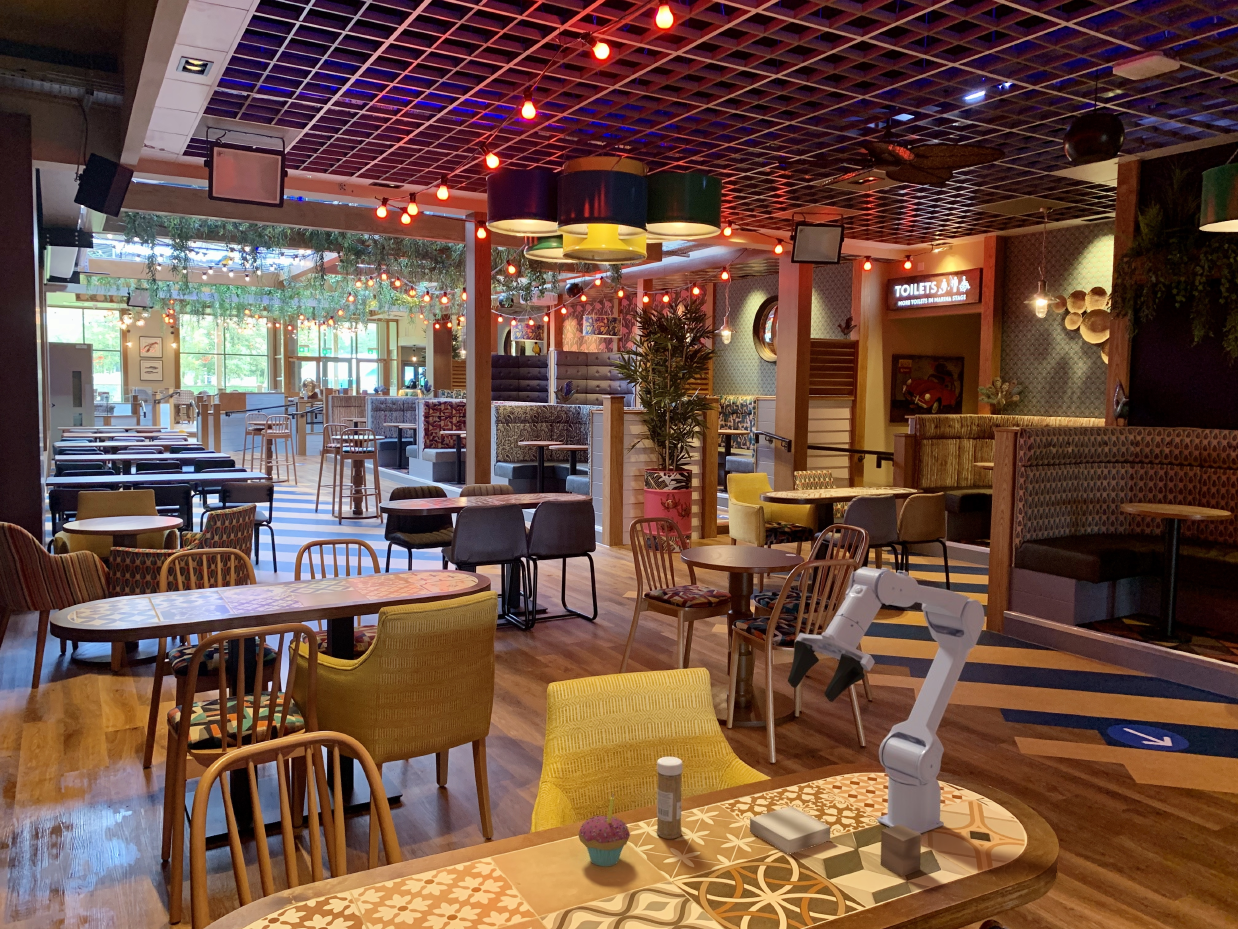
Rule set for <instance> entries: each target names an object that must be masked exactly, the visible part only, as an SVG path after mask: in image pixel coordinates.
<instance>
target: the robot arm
mask: <svg viewBox="0 0 1238 929" xmlns="http://www.w3.org/2000/svg"><path fill="white" fill-rule="evenodd" d="M844 597H845V599H844V600H843V602H842V604H841V605H840V607H839V608H838V610H837V611H836V614H834V616H833V618H832V619H831V621H830V623H829V625H828V626H827V628H826V629H825V631H824V632H822V633H821V634H807V633H803V632H799V633H798V635H797V637H796V638H795V640H794V644H793V648H794V650H793V651H794V652H793V660H792V665H791V669H790V672H789V674H788V678H787V683H788V684H789V685H790V686H791V687H792V688H794V689H797V687H798V686H799V685H800V683H801V682H802V680H803V679H804V677H805V676H806V674H807V673H808V672H809V671H810V669H812V668H813V667H814V666H815V665H816V664H817V663H819V661H820V659H819V657H818V656H817V655H816V653H819V654H822V655H825V656H828V657H830V658H831V657H832V658H834V659H837V660H838V661H839V662H838V664H837V667H836V670H835V671H834V674H833V677H832V678H831V680H830V682H829V683H828V686H827V687H826V688H825V692H824V696H825V698H827V700H828V701H829V702H830V703H833V702H834V701H835V700H836V699H837V698H838V697H839V696H840V695H841V694H842V693H843V692H845V690H847V689H848V688H849V687H851V686H853V685H854V684H856V683H858V682H860V681H863V679H864V678H865V673H864V671H868V672H870V671H871V669H872V668H873V666H874V664H875V662H876V661H875V660H874V658H873V657H872V655H871V654H868V653H865V652H863V651H861V650H859V649H857V648H858V646H859V644H860V643H861V641H862V639H863V637H864V636H865V634H866V633H867V631H868V629H869V628H870V626H871V624H872V622H873V621H874V619H875V617H876V616H877V614H878V612H879V610H880V609H881V607H882V605H883V604H885V605H886V606H889V605H892V606H897V607H902V608H908V607H911V606H913V605H914V604H915V603H918V604H919V603H920V604H921V610H922V612H923V616H924V619H925V623H926V624H927V628H928V630H929V633H930V635H931V637H932V640H933V639H934V641H935V642H937V643H938V644H937V645H938V650H937V651H936V654H935V655H934V656H935V657H934V659H933V660H932V663H931V666H930V668H929V670H928V673H927V675H926V677H925V679H924V681H923V684H922V685H921V686H922V687H921V689H920V690H919V693H918V696H917V698H916V700H915V703H914V705H913V708H912V709H911V712H910V714H909V716H908V718H907V719H906V720H905V721H902V722H900V723H897V724H894V725H893V726H892V727H891V730H890V731H889V733H888V734H887V735H886V737H884V739H883V740H882V742H881V743H880V746H879V749H878V756H879V757H878V758H879V761H880V765H882V767H883V768H884V773H885V774H886V775H888V789H887V791H888V793H887V814H885V815H881V816H879V817H877V818H876V821H877V822H879V823H881V824H883V825H885V826H887V827H888V828H889V827H892V826H895V825H898V824H900V825H903V826H905V827H907V828H909V829H911V830H913V831H915V832H917V833H919V834H921V835H922V834H924V833H925V832H928V831H931V830H934V829H937V828H940V827H943V826H944V824H945V823H944V821H942V820H941V796H942V792H941V786H940V783H939V781H938V780H937V776H938V775H939V773H940V770H941V765H942V764H941V763H942V762H941V761H942V757H943V754H944V751H945V749H944V746H943V744H942V742H941V740H940V739H939V737H938V735H937V730H938V728H939V726H940V723H941V721H942V719H943V716H944V714H945V711H946V709H947V706H948V704H949V702H950V700H951V697H952V695H953V692H954V690H955V688H956V685H957V683H958V680H959V678H960V676H961V674H962V670H963V668H964V666H965V664H966V662H967V659H968V657H969V654H970V651H971V650H972V649H974V648H975V647H976V645H977V642H978V640H979V638H980V635H981V633H982V631H983V629H984V626H985V624H986V618H985V610H984V607H983V604H982V603H981V601H979V600H978V599H973V598H971V597H970V596H967V595H964V594H962V593H958V592H954V591H952V590H949V589H944V588H938V587H934V586H926V585H921V584H919V583H918V581H917V580H916V579H915V578H914V577H913V576H911V575H909V572H908V571H904V570H897V572H895V571H893V570H891V569H890V568H886V567H881V568H874V567H868V566H862V567H861V568H858V569H857V570H856V571H852V572H851V574H850V578H849V582H848V588H847V590H846V592H845V596H844ZM815 652H816V653H815Z"/></svg>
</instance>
